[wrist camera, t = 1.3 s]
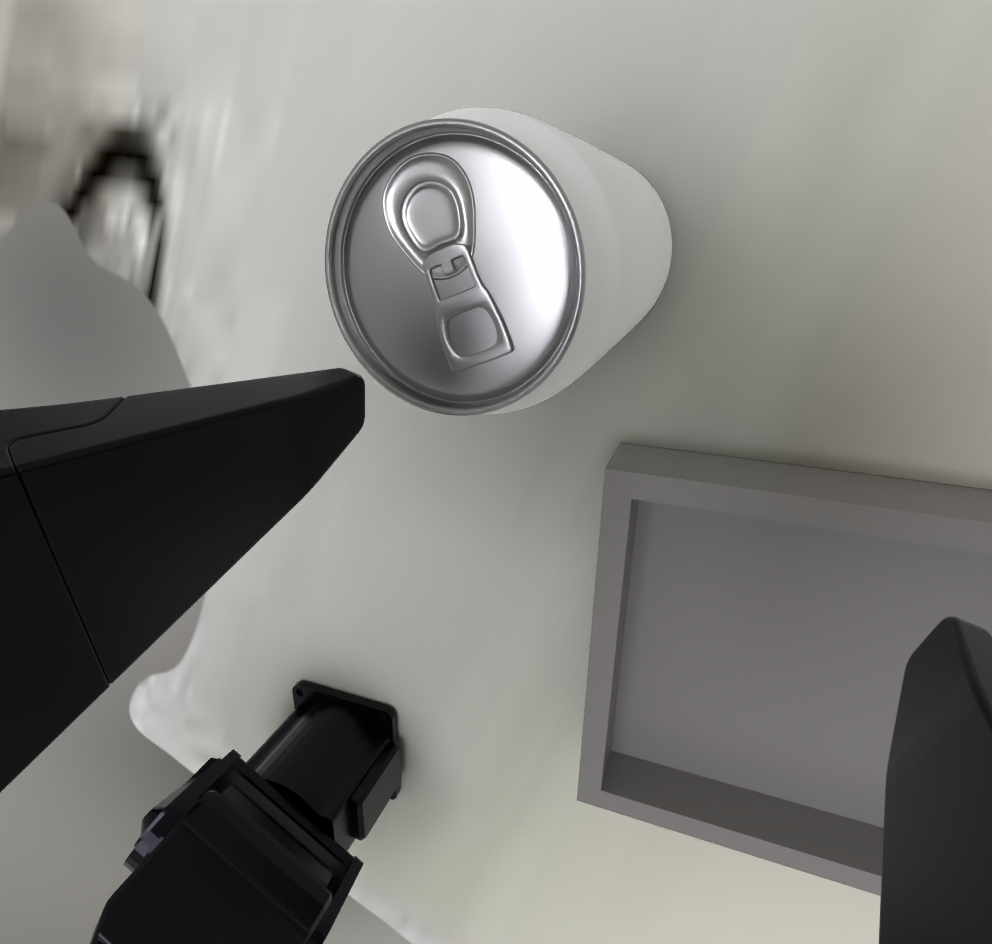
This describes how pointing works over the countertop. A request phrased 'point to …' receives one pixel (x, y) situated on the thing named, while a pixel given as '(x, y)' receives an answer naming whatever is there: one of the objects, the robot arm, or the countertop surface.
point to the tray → (767, 646)
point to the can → (490, 260)
